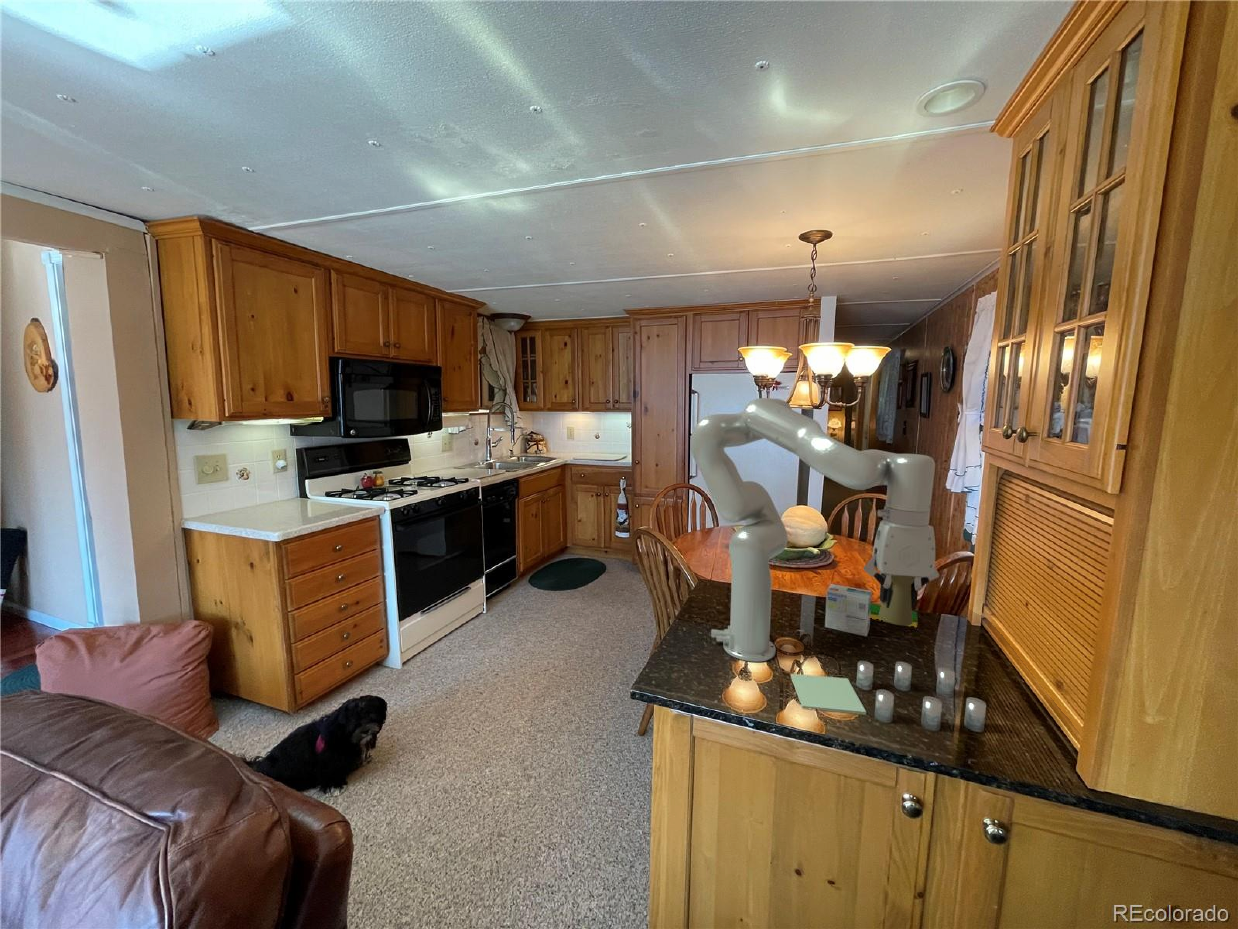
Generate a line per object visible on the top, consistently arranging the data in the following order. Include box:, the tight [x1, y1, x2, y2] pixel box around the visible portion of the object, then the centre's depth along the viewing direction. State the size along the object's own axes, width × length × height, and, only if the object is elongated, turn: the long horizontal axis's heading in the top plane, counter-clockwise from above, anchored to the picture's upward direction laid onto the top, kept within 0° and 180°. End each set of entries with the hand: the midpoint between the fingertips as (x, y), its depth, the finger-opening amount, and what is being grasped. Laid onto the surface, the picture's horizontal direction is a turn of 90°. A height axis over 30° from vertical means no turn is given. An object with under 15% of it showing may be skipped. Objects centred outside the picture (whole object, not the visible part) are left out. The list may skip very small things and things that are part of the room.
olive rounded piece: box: [879, 575, 915, 626], centre depth 97 cm, size 6×6×11 cm
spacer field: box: [855, 660, 987, 733], centre depth 98 cm, size 19×16×5 cm
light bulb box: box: [824, 583, 872, 637], centre depth 133 cm, size 11×7×11 cm, turn 58°
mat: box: [790, 673, 867, 716], centre depth 102 cm, size 12×12×1 cm
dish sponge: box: [870, 603, 919, 628], centre depth 140 cm, size 7×14×2 cm, turn 60°
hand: (897, 605), depth 97 cm, fingers closed on olive rounded piece, 3 cm apart
